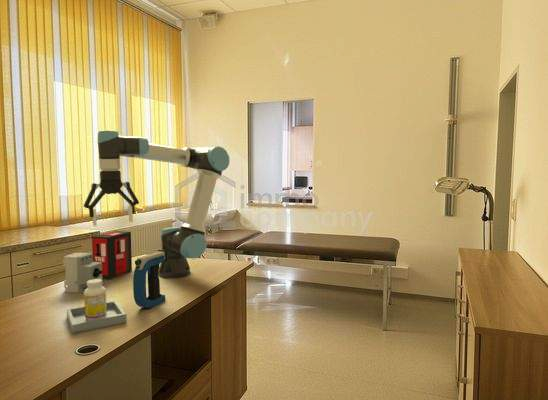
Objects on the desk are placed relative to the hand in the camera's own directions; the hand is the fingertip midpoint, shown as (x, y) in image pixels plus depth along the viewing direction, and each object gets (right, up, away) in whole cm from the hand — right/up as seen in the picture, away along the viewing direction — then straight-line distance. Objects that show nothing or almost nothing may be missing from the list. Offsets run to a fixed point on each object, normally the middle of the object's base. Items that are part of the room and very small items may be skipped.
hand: (113, 223), depth 150 cm
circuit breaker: (-16, -29, +11) cm, 35 cm away
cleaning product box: (-15, -27, +34) cm, 46 cm away
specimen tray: (+4, -31, -22) cm, 38 cm away
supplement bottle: (+3, -31, -22) cm, 38 cm away
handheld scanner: (+18, -31, -7) cm, 36 cm away
